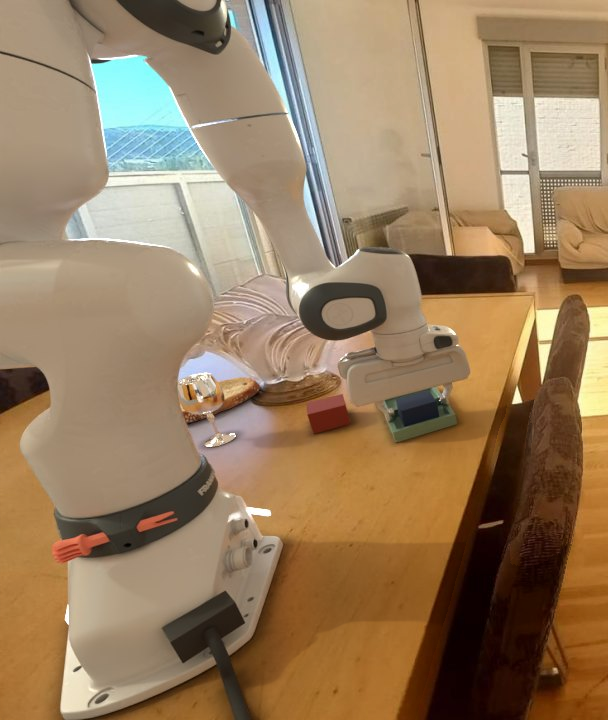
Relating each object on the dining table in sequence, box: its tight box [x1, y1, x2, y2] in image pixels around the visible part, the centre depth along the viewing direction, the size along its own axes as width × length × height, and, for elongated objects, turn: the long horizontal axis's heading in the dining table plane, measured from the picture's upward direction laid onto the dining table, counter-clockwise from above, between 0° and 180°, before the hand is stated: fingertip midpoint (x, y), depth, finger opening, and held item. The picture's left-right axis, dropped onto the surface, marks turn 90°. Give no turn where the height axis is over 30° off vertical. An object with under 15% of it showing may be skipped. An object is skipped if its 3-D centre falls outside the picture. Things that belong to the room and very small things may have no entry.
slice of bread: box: [179, 376, 261, 424], centre depth 95 cm, size 18×18×4 cm
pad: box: [396, 390, 440, 427], centre depth 87 cm, size 6×6×4 cm
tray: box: [383, 386, 458, 444], centre depth 90 cm, size 18×11×2 cm, turn 33°
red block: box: [305, 393, 352, 435], centre depth 88 cm, size 6×6×4 cm
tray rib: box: [393, 397, 440, 417], centre depth 90 cm, size 1×9×2 cm, turn 124°
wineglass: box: [178, 372, 237, 448], centre depth 82 cm, size 6×6×12 cm
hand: (418, 411), depth 87 cm, fingers open, 8 cm apart
